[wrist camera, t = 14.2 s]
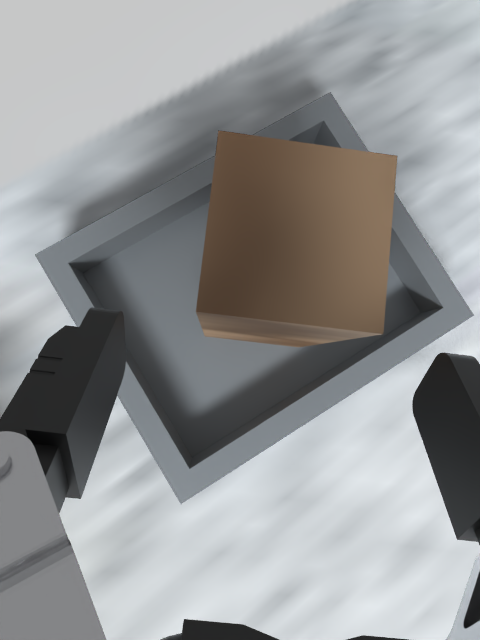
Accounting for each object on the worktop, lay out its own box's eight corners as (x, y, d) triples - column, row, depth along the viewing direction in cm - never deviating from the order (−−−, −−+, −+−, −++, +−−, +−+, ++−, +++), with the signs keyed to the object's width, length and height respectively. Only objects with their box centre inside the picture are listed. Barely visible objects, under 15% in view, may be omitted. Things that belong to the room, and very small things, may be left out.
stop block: (307, 255, 20) (396, 155, 10) (298, 347, 20) (383, 334, 10) (216, 243, 20) (218, 130, 10) (204, 336, 20) (195, 311, 10)
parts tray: (314, 128, 22) (330, 92, 19) (437, 321, 22) (473, 315, 19) (60, 270, 21) (34, 254, 18) (185, 482, 20) (180, 504, 17)
